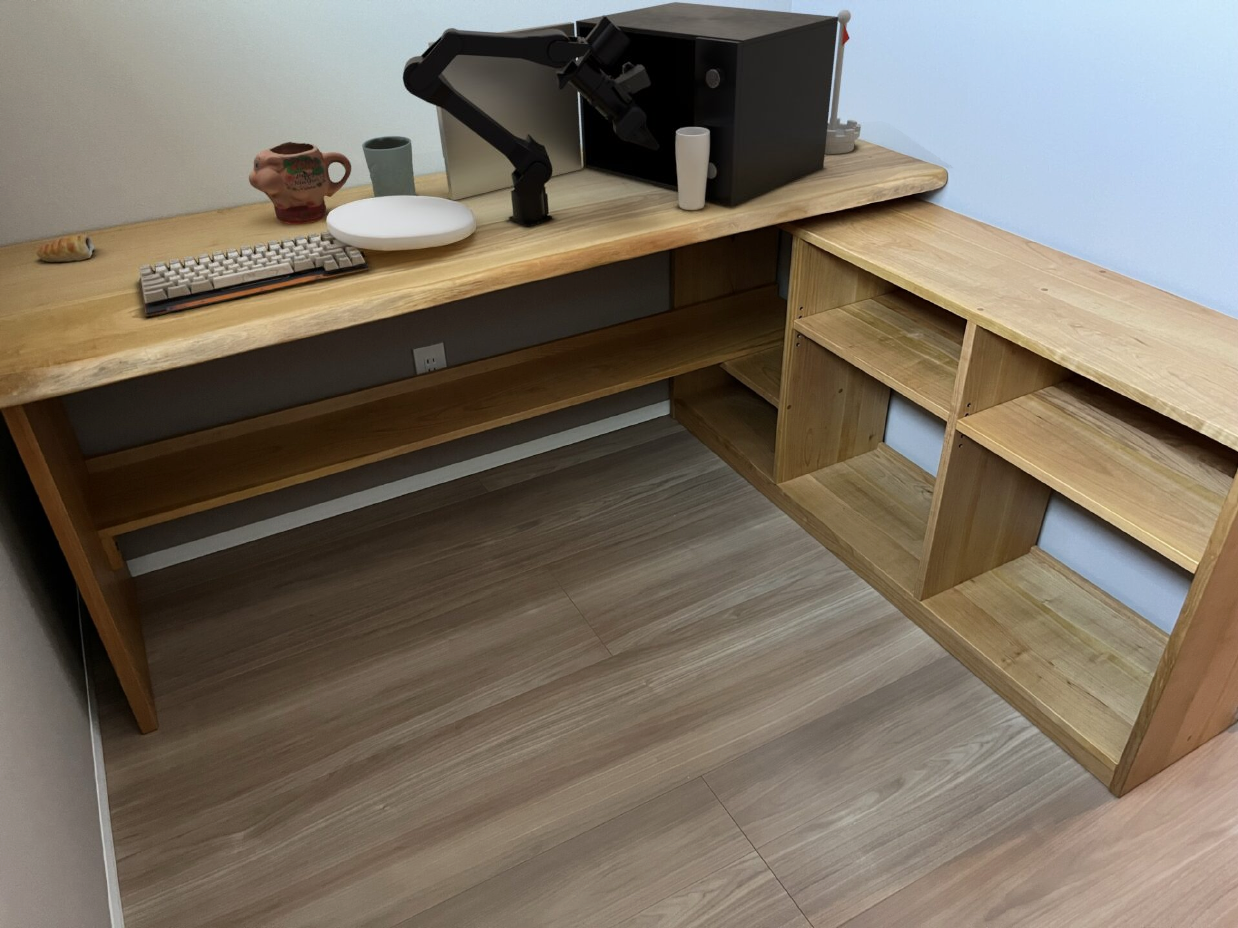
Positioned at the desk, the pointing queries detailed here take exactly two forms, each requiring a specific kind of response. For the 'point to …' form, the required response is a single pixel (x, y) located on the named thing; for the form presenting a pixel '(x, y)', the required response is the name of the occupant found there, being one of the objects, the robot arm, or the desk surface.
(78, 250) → the pastry
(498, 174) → the microwave door
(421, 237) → the white round disc
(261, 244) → the mechanical keyboard
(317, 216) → the sculpted ceramic mug
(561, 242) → the desk surface
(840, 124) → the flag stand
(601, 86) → the robot arm
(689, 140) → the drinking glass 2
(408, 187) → the green cup
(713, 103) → the microwave
